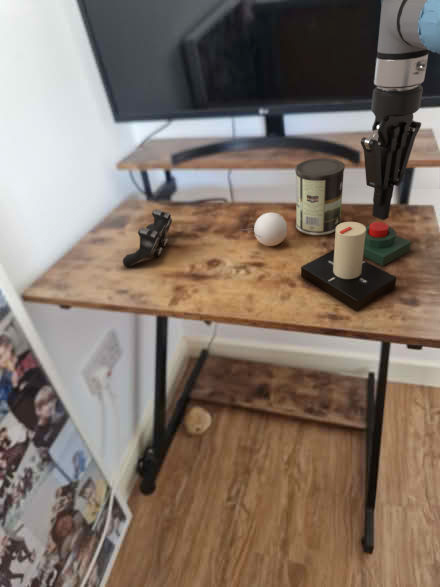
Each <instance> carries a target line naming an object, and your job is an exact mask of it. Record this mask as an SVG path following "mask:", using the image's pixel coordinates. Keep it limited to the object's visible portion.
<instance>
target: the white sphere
mask: <svg viewBox="0 0 440 587" xmlns="http://www.w3.org/2000/svg"><path fill="white" fill-rule="evenodd" d="M251 229H253V234H254V237H255V238H256V239H257V241H258V242H259V243H260V244H262V245H263V246H266V247H274V246H278V245H279V244H281V243H283V241H284V240H285V238H286V237H287V234H288V224H287V221H286V219H285V218H284V217H283V216H282V215H281V214H279V213H277V212H266V213H263V214H261V215H260V216H259V217H258V218H257V219H256V221H255V223H254V226H253V228H252V227H251V228H249V230H251ZM246 230H247V228H245V229H242V231H246Z"/></svg>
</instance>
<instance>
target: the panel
mask: <svg viewBox="0 0 440 587" xmlns="http://www.w3.org/2000/svg"><path fill="white" fill-rule="evenodd" d="M333 264H334V249H333V250H331V251H329V252H326V253H325V254H323V255H321V256H319V257H317V258H315V259H313V260H312V261H309V262H307V263H305V264H303V265H302V266H300V278H302V279H303V280H305V281H307V282H309V283H310V284H311V285H313V286H314V287H316V288H318V289H319V290H320V291H323V292H325V293H326V294H327V295H329V296H331V297H332V298H334V299H335V300H337V301H339V302H340V303H342V304H343V305H345V306H347V307H348V308H349V309H351V310H352V311H355V312H358V311H360V310H361V309H363V308H365V307H366V306H368V305H370V304H371V303H373V302H375V301H376V300H378V299H380V298H382V297H383V296H384V295H387V294H388V293H389V292H391V291H392V290H395V288H396V285H397V278H398V277H397V276H396V275H393V274H391V273H389V272H387V271H386V270H383V269H382V268H379V267H378V266H375V265H374V264H372V263H369V262H368V261H366V260H364V259H363V261H362V270H361V274H360V275H359V276H358V277H356V278H353V279H343V278H339V277H337V276H336V275H335V274H334V272H333Z"/></svg>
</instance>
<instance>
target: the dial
mask: <svg viewBox="0 0 440 587" xmlns="http://www.w3.org/2000/svg"><path fill="white" fill-rule="evenodd" d="M340 223H341V224H339V225H337V227H336V231H335V232H334V233H335V234H334V248H333V250H334V264H333V272H334V274H335V275H336V276H337V277H339V278H343V279H353V278H356V277H358V276H359V275H360V274H361V270H362V261H363V260H364V256H363V253H364V244H365V235H366V226H365V225H364V224H363V223H360V222H358V221H344V222H340Z"/></svg>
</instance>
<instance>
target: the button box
mask: <svg viewBox="0 0 440 587" xmlns="http://www.w3.org/2000/svg"><path fill="white" fill-rule="evenodd" d="M365 227H366V235H365V244H364V253H363V258H366V259H367V260H369V261H371V262H373V263H375V264H378V265H380V266H382V267H384V266H385V265H388V264H389V263H391V262H393V261H395V260H396V259H398V258H400V257H402V256H403V255H405V254H407V253H409V252H410V250H411V245H412V241H411V240H408V239H405V238H403V237H402V236H401V237H400V236H398V235H397V231H396V230H395V229H394V228H393V227H392V226H389V229H388V235H387V236H386V237H381V238H378V237H373V236H370V235H369V227H370V224H369V225H366V226H365Z"/></svg>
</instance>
